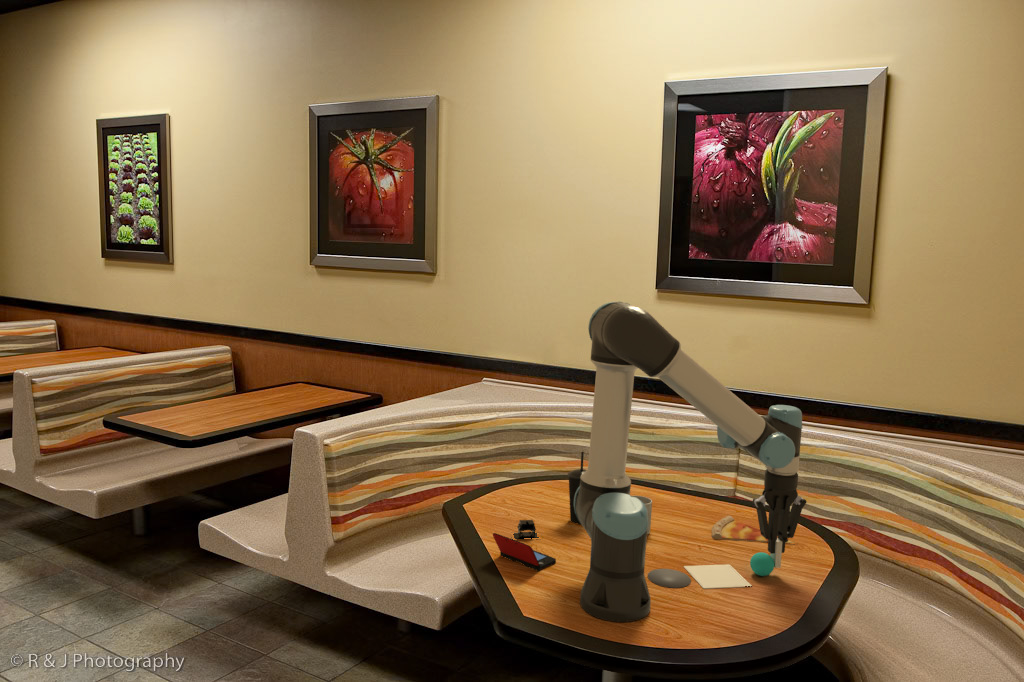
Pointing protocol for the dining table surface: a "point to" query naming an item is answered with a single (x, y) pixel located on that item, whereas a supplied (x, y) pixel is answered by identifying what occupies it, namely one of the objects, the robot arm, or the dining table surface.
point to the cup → (649, 509)
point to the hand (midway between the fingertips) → (775, 565)
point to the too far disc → (669, 578)
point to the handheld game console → (522, 553)
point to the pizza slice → (737, 531)
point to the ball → (762, 564)
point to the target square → (717, 576)
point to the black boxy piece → (525, 526)
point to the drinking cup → (574, 488)
